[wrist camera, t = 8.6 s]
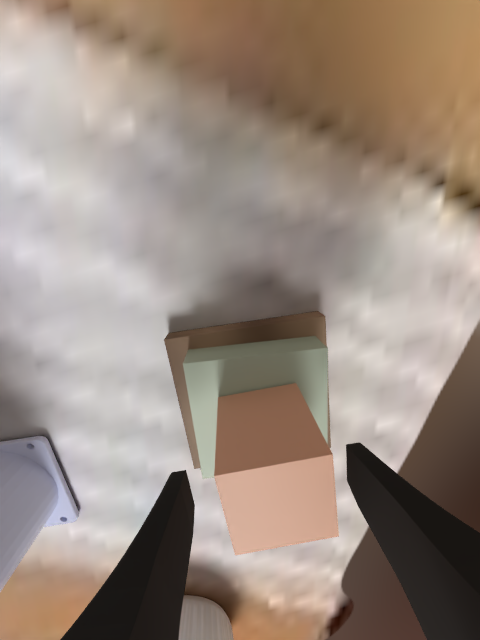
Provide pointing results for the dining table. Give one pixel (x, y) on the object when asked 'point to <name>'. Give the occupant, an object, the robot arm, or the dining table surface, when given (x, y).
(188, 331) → the tower base
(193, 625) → the ramekin
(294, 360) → the tower top
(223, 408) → the terracotta block
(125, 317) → the dining table surface
